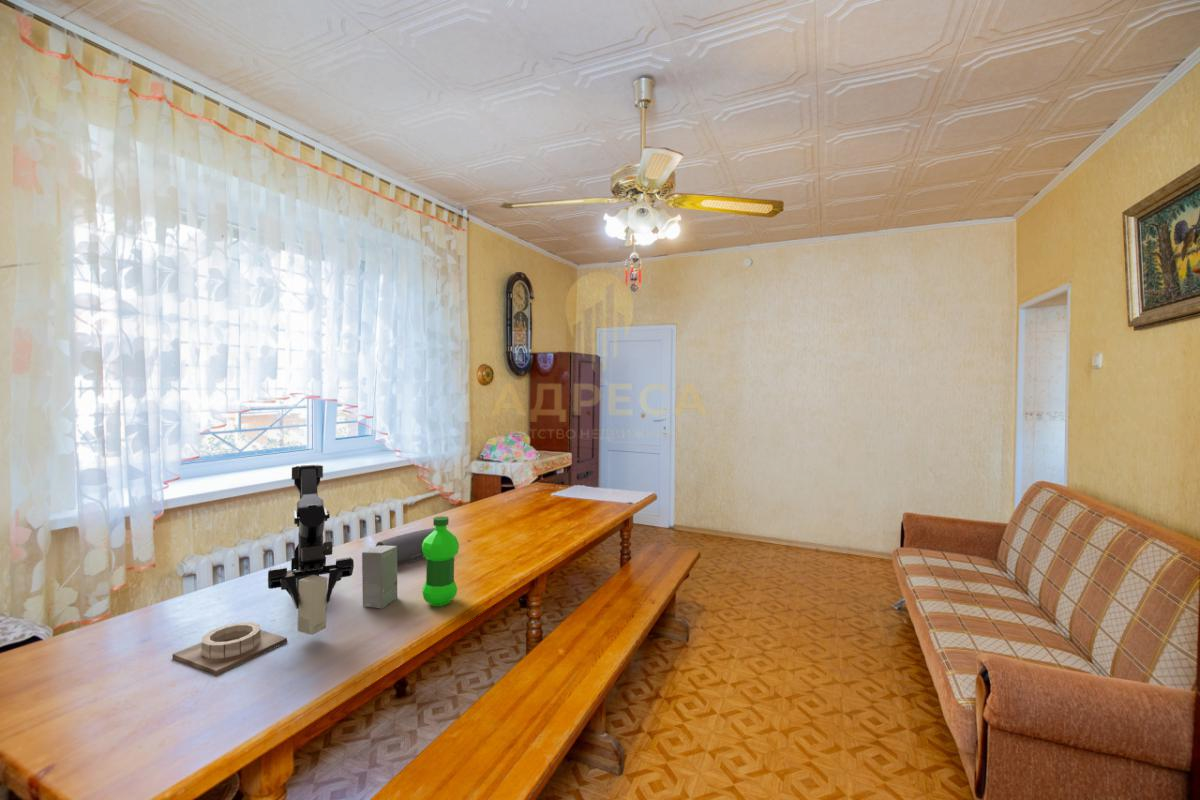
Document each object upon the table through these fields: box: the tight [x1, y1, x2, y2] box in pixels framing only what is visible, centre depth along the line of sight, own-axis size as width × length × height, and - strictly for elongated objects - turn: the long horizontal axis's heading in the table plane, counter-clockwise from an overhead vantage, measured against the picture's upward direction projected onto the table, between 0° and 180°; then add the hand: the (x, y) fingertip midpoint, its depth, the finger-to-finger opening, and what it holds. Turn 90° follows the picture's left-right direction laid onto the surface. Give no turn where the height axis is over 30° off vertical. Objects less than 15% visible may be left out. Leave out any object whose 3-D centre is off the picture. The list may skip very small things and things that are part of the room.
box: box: [296, 575, 328, 635], centre depth 126 cm, size 5×4×13 cm
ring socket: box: [172, 621, 288, 676], centre depth 121 cm, size 16×16×4 cm
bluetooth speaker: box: [375, 527, 435, 566], centre depth 185 cm, size 23×9×10 cm, turn 144°
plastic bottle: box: [422, 516, 460, 607], centre depth 149 cm, size 10×10×25 cm
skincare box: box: [361, 545, 398, 609], centre depth 149 cm, size 8×7×16 cm
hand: (313, 605), depth 124 cm, fingers closed on box, 6 cm apart
